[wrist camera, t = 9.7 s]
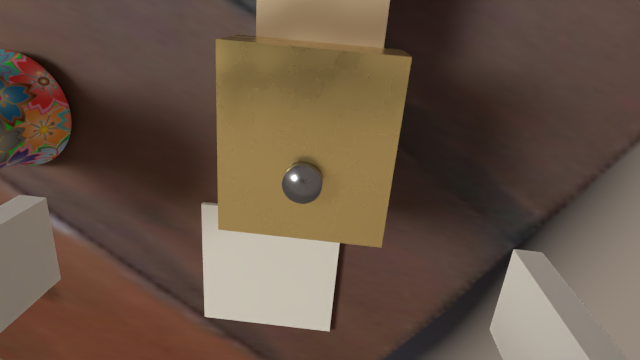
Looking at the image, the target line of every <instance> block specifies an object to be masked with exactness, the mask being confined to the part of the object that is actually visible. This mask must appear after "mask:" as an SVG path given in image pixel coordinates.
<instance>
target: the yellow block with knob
mask: <svg viewBox="0 0 640 360" xmlns="http://www.w3.org/2000/svg"><path fill="white" fill-rule="evenodd" d="M411 61H412V57H411V56H410V55H409V54H407V53H406V52H405V51H403V50H399V49H388V48H377V47H366V46H356V45H345V44H334V43H323V42H312V41H301V40H290V39H279V38H268V37H258V36H247V35H234V36H229V37H223V38H218V39H216V101H217V174H218V230H226V231H235V232H244V233H253V234H263V235H272V236H281V237H290V238H299V239H308V240H317V241H327V242H336V243H345V244H354V245H363V246H372V247H382V241H383V234H384V228H385V222H386V216H387V210H388V203H389V197H390V191H391V185H392V179H393V172H394V166H395V160H396V154H397V148H398V142H399V135H400V129H401V123H402V117H403V111H404V104H405V98H406V92H407V86H408V80H409V73H410V67H411Z"/></svg>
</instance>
